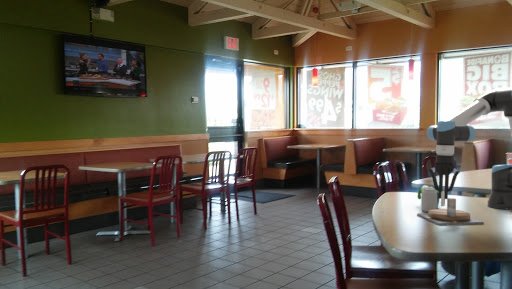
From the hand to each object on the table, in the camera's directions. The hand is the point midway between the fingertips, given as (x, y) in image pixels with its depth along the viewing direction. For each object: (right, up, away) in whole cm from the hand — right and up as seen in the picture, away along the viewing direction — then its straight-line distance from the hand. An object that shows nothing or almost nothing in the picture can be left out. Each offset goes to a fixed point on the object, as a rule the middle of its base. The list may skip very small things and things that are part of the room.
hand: (442, 205), depth 193 cm
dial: (+6, -6, +6) cm, 10 cm away
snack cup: (+9, -6, +36) cm, 37 cm away
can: (+4, -7, +25) cm, 26 cm away
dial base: (+6, -7, +6) cm, 11 cm away
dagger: (+20, -5, +63) cm, 67 cm away
